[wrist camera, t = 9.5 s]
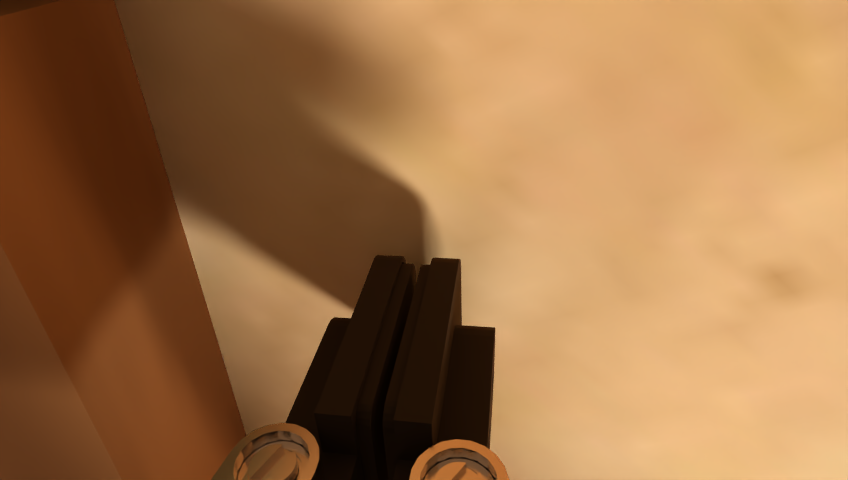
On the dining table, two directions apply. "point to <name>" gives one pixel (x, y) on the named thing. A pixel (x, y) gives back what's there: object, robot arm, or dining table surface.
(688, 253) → the dining table surface
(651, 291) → the dining table surface
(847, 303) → the dining table surface
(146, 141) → the t block
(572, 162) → the dining table surface
